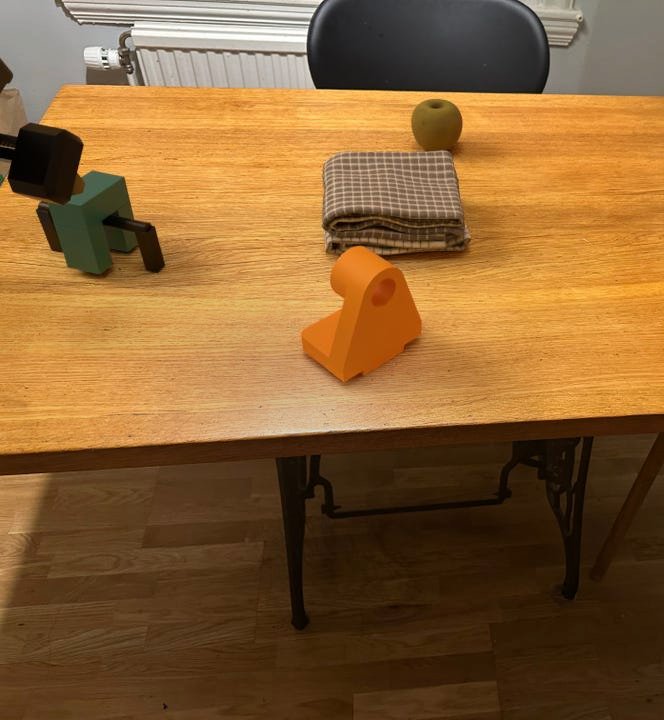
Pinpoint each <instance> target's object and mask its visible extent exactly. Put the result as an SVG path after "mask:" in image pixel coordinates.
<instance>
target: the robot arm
mask: <svg viewBox="0 0 664 720" xmlns="http://www.w3.org/2000/svg"><path fill="white" fill-rule="evenodd" d="M13 78H14V73H13V71H12V70H11V69H10V67H9V66H8V65H7V64H6V63H5V62H4V61H3V59H2V58H1V57H0V95H1V94H2V92H3V90H4V89H5V88H6V86H7V85H8V84H9V85H10V84H11V82H12V80H13ZM84 146H85V144H84V142H83V140H82V139H81V137H80V136H78V135H76V134H75V133H73V132H71V131H69V130H68V129H65V128H60V127H55V126H51V125H45V124H40V123H36V122H28V123H26V124H24V125H22V126H21V127H20V128H18V133H17V136H16V135H11V134H7V133H1V132H0V162H1V163H6V164H10V165H9V169H8V174H7V177H6V180H7V182H8V184H9V187H10V190H11V192H12V193H13V194H17V195H19V196H21V197H25V198H29V199H31V200H35V201H39V202H40V201H44V202H49V203H53V204H58V205H65V204H66V203H68V202H69V201H70V200H71V196H73V195H77V194H81V193H83V191H84V187H85V182H84V180H83V179H82V178H81V177H82V176H81V175H80V174H79V173H78V171H79V167H80V164H81V158H82V154H83V150H84Z"/></svg>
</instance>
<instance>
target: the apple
mask: <svg viewBox="0 0 664 720" xmlns="http://www.w3.org/2000/svg"><path fill="white" fill-rule="evenodd" d="M463 122H464V121H463V116H462V113H461V110H460V109H459V107H458V106H457V105H456V104H455V103H453V102H452V101H450V100H447V99H442V98H429V99H425V100H423V101H421V102H419V103H418V104H417V105H416V106H415V108H414V109H413V111H412V114H411V118H410V126H411V132H412V135H413V137H414V139H415V141H416V142H417V144H418V145H419V147H421V148H422V149H423V150H424V151H426V152H429V151H430V152H431V151H434V152H435V151H448V150H450V149H452V148H453V147H454V146H455V145H457V143H458V142H459V139H460V138H461V135H462V131H463V126H464V125H463V124H464V123H463Z"/></svg>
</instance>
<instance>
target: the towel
mask: <svg viewBox="0 0 664 720" xmlns="http://www.w3.org/2000/svg"><path fill="white" fill-rule="evenodd" d="M321 178H322V188H323V195H322V202H321V203H322V209H321V210H322V212H321V213H322V214H321V217H322V218H321V228H322V229H323V237H324V248H323V249H324V251H325V254H328V255H335V256H339V257H340V256H341V255H342V254H343V253H344V252H345V251H347V250H348V249H350V248H352V247H355V246H363V247H366V248H367V249H369V250H370V251H372V252H374V253H375V254H377V255H378V256H393V255H402V254H411V253H414V254H415V253H420V252H421V253H424V252H425V253H426V252H463V251H464V252H465V251H466V250H467V249H468V246H469V244H470V243H471V242H472V236H471V234H470V231H469V229H468V226H467V222H466V220H465V212H464V208H463V204H462V198H461V191H460V185H459V184H460V180H459V178H458V173H457V170H456V168H455V163H454V158H453V155H452V153H451V152H450V151H448V150H445V151H435V152H434V151H431V152H430V151H425V150H424V151H390V150H385V151H384V150H380V151H379V150H378V151H356V150H355V151H354V150H352V151H350V150H349V151H348V150H347V151H339V152H337V153H335V154H333V155H332V156H330V157H329V158H328V159H326V160H325V162H324V163H323V165H322V175H321Z"/></svg>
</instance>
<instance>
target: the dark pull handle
mask: <svg viewBox="0 0 664 720" xmlns="http://www.w3.org/2000/svg"><path fill="white" fill-rule="evenodd" d="M35 213H36V216H37V218H38V220H39V224H40V225H41V228H42V230H43V233H44V236H45V238H46V240H47V243H48V245H49V248H50V250H51V251H56V252H60V253H63V250H62V247H61V244H60V241H59V238H58V234H57V231H56V228H55V225H54V221H53V218H52V215H51V212H50V209H49V205H48V202H44V201H39V202H38V204H37V208H36V209H35ZM134 219H135V218H134ZM134 219H129V218H124V217H119V216H115V215H109V216H108V217H107V218H105V219H104V220H102V223H103V226H106V227H111V228H115V229H120V230H125V231H130V232H134V233H135V235H136V239H137V242H138V244H137V246H138V250H139V252H140V256H141V259H142V262H143V263H142V264H143V266H144V270H145V271H148V272H153V273H157V274H158V273H159V272H160V271H161V270H163V269H164V267H165V266H166V262H165V259H164V255H163V251H162V247H161V244H160V240H159V239H160V238H159V237H158V232H157V229H156V225H152V223H151V222H148V221H142V220H138V219H135V220H134Z"/></svg>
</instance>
